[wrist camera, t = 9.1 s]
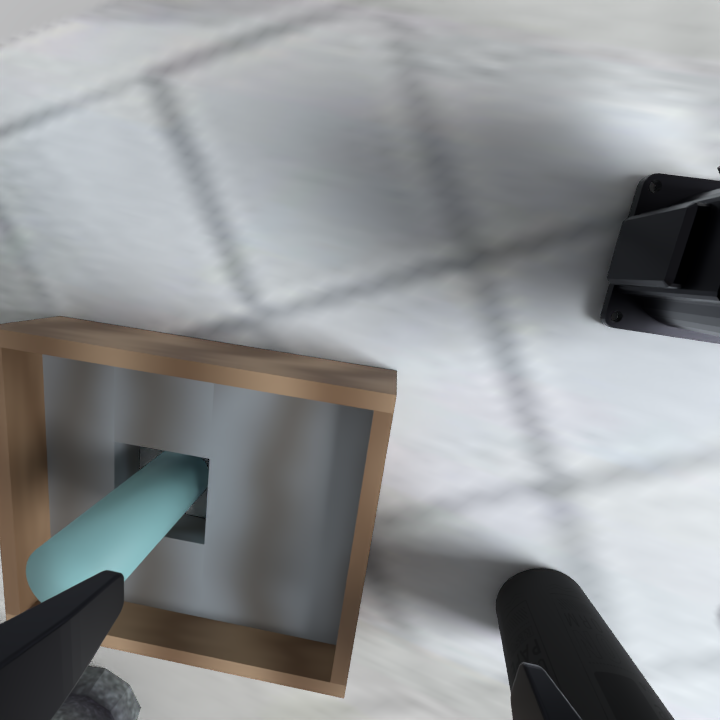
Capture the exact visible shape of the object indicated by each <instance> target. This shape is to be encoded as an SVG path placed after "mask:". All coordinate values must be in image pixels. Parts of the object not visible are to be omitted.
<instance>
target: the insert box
mask: <svg viewBox="0 0 720 720" xmlns="http://www.w3.org/2000/svg"><path fill="white" fill-rule="evenodd" d="M396 395H397V371H394V370H388V369H382V368H376V367H370V366H364V365H358V364H351V363H345V362H339V361H333V360H327V359H321V358H315V357H308V356H302V355H296V354H290V353H284V352H278V351H271V350H265V349H259V348H253V347H247V346H241V345H235V344H228V343H222V342H216V341H210V340H204V339H198V338H192V337H185V336H179V335H173V334H167V333H161V332H155V331H149V330H142V329H136V328H130V327H124V326H118V325H112V324H105V323H99V322H93V321H87V320H81V319H75V318H69V317H62V316H57V317H50V318H42V319H34V320H27V321H19V322H12V323H4V324H0V548H1V561H2V573H3V585H4V598H5V610H6V621H7V620H9V619H11V618H13V617H15V616H17V615H19V614H21V613H22V612H24V611H26V610H28V609H30V608H32V607H34V606H36V605H38V604H40V603H41V602H40V601H39V600H38V599H37V598H36V596H35V595H34V594H33V592H32V590H31V589H30V587H29V584H28V581H27V577H26V565H27V561H28V559H29V557H30V555H31V554H32V553H33V552H34V551H35V550H36V549H37V548H39V547H40V546H41V545H42V544H44V543H45V542H46V541H48V540H49V539H50V538H52V537H53V536H54V535H55V534H57V533H58V532H59V531H61V530H62V529H63V528H65V527H66V526H67V525H69V524H70V523H71V522H72V521H74V520H75V519H76V518H78V517H79V516H80V515H82V514H83V513H84V512H85V511H87V510H88V509H89V508H91V507H92V506H93V505H95V504H96V503H97V502H99V501H100V500H101V499H102V498H104V497H105V496H106V495H108V494H109V493H110V492H112V491H113V490H114V489H115V488H117V487H118V486H119V485H121V484H122V483H123V482H125V481H126V480H127V479H129V478H130V477H131V476H132V475H134V474H135V473H136V472H138V471H139V446H141V447H147V448H152V449H158V450H163V451H169V452H175V453H180V454H186V455H191V456H197V457H202V458H208V459H210V460H209V477H208V493H207V510H206V518H201V517H196V516H191V515H186V514H184V515H183V516H182V517H181V518H180V519H179V520H178V521H177V522H176V524H175V525H174V526H173V527H172V528H171V529H170V530H169V531H168V533H167V534H166V535H165V536H164V537H163V538H162V539H161V541H160V542H159V543H158V544H157V545H156V546H155V547H154V548H153V550H152V551H151V552H150V553H149V554H148V555H147V556H146V558H145V559H144V560H143V561H142V562H141V563H140V564H139V565H138V567H137V568H136V569H135V570H134V571H133V572H132V573H131V574H130V576H129V577H128V578H127V579H126V580H125V581H124V604H123V608H122V610H121V612H120V614H119V616H118V618H117V619H116V621H115V623H114V624H113V626H112V627H111V629H110V631H109V632H108V634H107V636H106V637H105V639H104V640H103V642H102V644H101V645H100V646H102V647H107V648H112V649H116V650H121V651H126V652H130V653H135V654H140V655H144V656H149V657H154V658H158V659H163V660H168V661H172V662H177V663H182V664H186V665H191V666H196V667H200V668H205V669H210V670H214V671H219V672H224V673H228V674H233V675H238V676H242V677H247V678H252V679H256V680H261V681H266V682H270V683H275V684H280V685H284V686H289V687H294V688H298V689H303V690H308V691H312V692H317V693H322V694H326V695H331V696H335V697H340V698H344V695H345V690H346V684H347V678H348V672H349V667H350V661H351V655H352V649H353V644H354V638H355V632H356V626H357V620H358V615H359V609H360V603H361V597H362V592H363V586H364V580H365V574H366V569H367V563H368V557H369V551H370V545H371V540H372V534H373V528H374V522H375V517H376V511H377V505H378V499H379V493H380V488H381V482H382V476H383V470H384V465H385V459H386V453H387V447H388V442H389V436H390V430H391V424H392V418H393V413H394V407H395V401H396Z"/></svg>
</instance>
